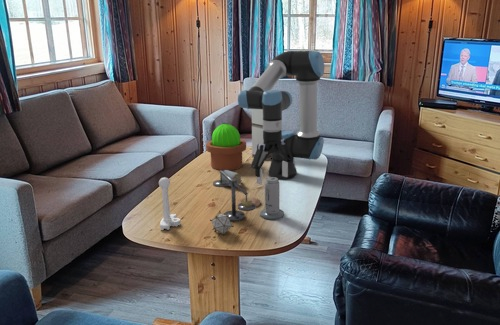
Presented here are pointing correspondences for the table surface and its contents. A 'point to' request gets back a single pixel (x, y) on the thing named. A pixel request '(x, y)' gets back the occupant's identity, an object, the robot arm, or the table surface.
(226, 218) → the game die
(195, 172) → the table surface
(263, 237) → the table surface
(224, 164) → the potted cactus
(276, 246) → the table surface
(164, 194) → the white mechanical bracket
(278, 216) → the grey round disc
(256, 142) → the stacked white blocks
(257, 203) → the pink disc
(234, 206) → the balance
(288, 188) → the table surface
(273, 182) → the energy drink can
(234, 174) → the ceramic mug
